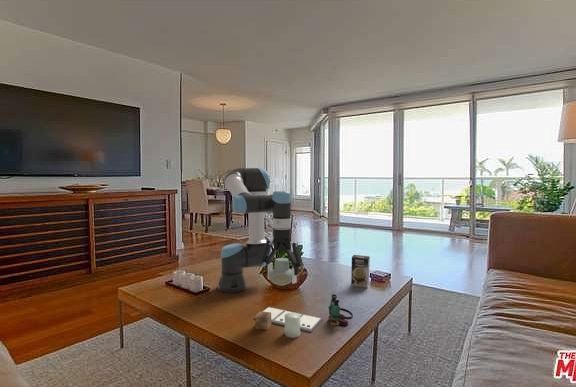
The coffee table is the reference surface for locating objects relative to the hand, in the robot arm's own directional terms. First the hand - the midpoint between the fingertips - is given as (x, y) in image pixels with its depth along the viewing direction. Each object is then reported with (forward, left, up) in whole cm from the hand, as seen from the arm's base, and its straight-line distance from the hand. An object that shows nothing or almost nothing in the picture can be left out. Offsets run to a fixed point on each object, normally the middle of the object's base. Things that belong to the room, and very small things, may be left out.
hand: (282, 280), depth 134 cm
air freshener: (0, 0, -1) cm, 1 cm away
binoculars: (+22, +9, -17) cm, 29 cm away
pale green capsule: (+9, -9, -17) cm, 21 cm away
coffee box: (+18, +57, -17) cm, 62 cm away
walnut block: (-4, -9, -17) cm, 19 cm away
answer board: (+2, +1, -17) cm, 17 cm away
